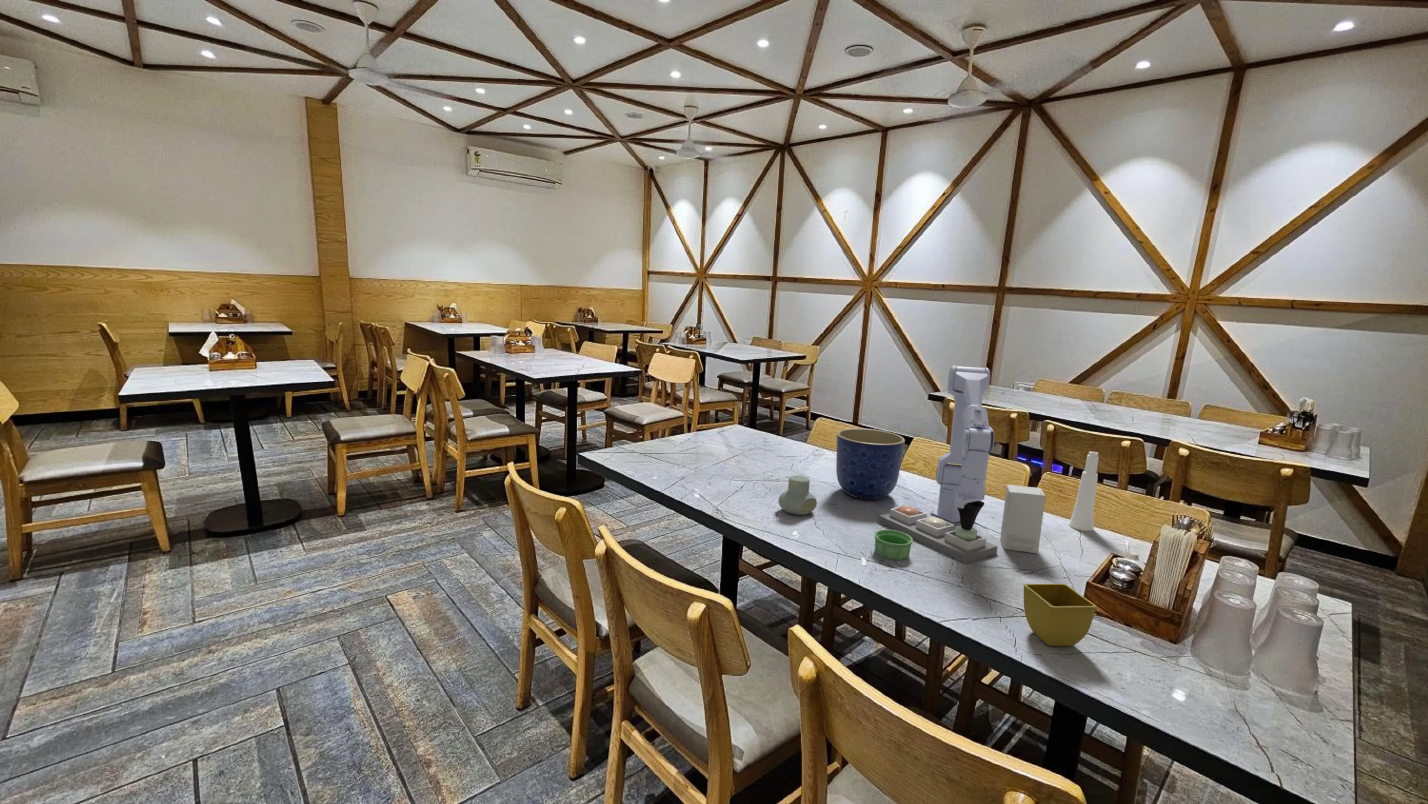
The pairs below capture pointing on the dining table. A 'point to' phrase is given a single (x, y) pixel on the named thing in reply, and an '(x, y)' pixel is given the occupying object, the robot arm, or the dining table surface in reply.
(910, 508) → the terracotta button
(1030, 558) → the dining table surface
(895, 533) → the ramekin
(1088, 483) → the cosmetic bottle
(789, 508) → the air freshener
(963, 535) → the sage button
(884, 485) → the planter
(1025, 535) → the skincare box
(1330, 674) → the dining table surface
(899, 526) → the button panel
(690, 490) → the dining table surface
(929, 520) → the cream button
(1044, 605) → the flower pot
